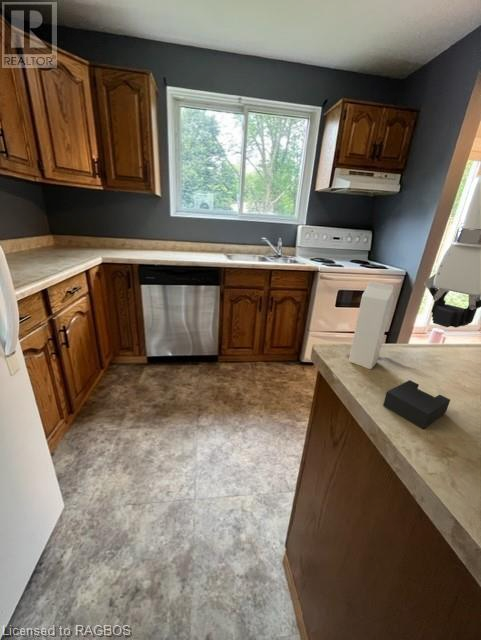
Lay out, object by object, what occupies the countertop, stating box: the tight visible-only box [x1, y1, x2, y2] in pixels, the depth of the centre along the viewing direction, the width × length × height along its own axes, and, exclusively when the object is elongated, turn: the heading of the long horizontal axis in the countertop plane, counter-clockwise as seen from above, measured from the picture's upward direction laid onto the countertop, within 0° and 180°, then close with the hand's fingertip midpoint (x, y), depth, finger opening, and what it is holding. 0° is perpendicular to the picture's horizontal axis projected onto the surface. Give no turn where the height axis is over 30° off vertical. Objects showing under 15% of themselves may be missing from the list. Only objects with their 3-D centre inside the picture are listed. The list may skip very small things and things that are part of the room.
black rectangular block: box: [431, 303, 465, 329], centre depth 62 cm, size 7×5×4 cm
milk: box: [348, 281, 394, 370], centre depth 71 cm, size 6×6×22 cm
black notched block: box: [382, 379, 451, 430], centre depth 55 cm, size 9×8×4 cm
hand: (449, 319), depth 63 cm, fingers closed on black rectangular block, 5 cm apart
